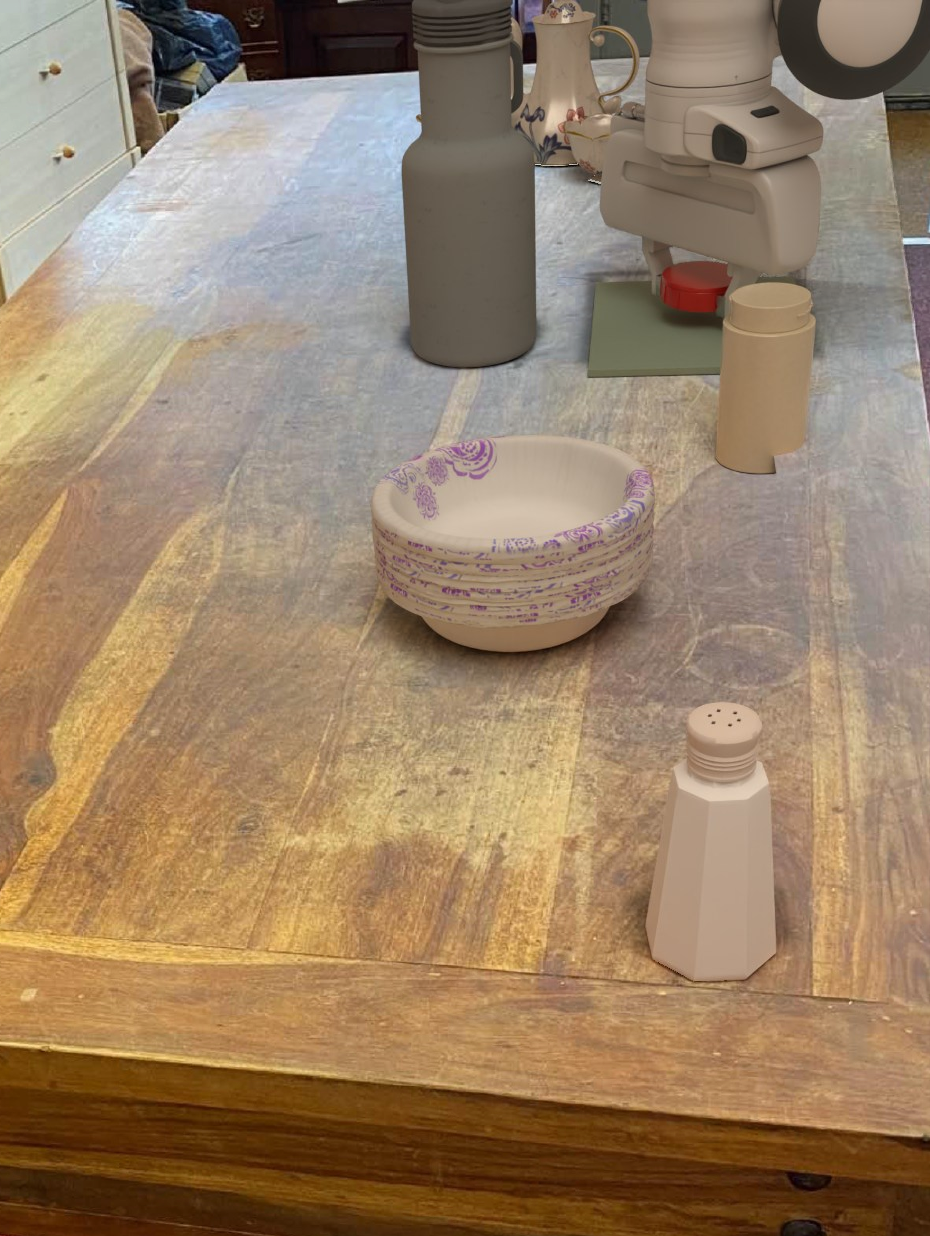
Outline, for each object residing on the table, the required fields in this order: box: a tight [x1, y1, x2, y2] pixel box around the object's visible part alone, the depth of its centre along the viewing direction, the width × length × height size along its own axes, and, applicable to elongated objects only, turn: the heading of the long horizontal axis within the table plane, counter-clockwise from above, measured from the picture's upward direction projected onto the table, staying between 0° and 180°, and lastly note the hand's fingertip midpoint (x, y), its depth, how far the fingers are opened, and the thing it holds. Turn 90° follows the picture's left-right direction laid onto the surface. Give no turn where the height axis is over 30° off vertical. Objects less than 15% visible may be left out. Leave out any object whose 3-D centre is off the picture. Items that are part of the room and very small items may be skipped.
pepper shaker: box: [644, 701, 777, 982], centre depth 64 cm, size 5×5×11 cm
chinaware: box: [415, 0, 641, 182], centre depth 165 cm, size 28×17×17 cm, turn 58°
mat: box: [587, 275, 797, 378], centre depth 126 cm, size 16×20×1 cm
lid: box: [660, 260, 733, 312], centre depth 124 cm, size 6×6×2 cm
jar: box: [715, 282, 817, 474], centre depth 103 cm, size 6×6×11 cm
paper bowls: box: [369, 434, 656, 653], centre depth 89 cm, size 15×15×8 cm
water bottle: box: [401, 0, 538, 368], centre depth 119 cm, size 10×10×28 cm
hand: (698, 306), depth 125 cm, fingers closed on lid, 6 cm apart
